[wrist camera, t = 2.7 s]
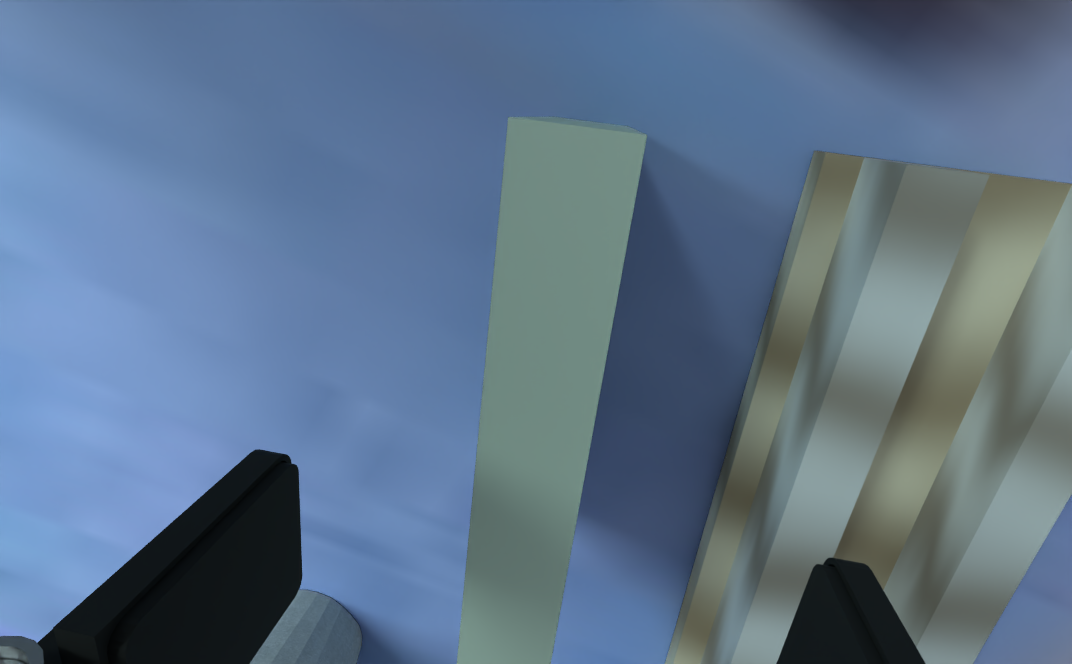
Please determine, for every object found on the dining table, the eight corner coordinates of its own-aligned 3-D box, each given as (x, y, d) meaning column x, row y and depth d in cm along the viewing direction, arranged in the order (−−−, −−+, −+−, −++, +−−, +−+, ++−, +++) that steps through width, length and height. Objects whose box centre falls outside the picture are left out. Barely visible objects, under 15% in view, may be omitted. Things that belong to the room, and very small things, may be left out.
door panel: (553, 116, 18) (508, 116, 10) (627, 126, 18) (647, 134, 10) (509, 475, 23) (454, 678, 15) (566, 485, 23) (544, 695, 15)
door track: (814, 150, 17) (862, 158, 14) (1154, 194, 17) (1287, 213, 13) (651, 711, 27) (657, 792, 24) (863, 753, 26) (899, 842, 23)
